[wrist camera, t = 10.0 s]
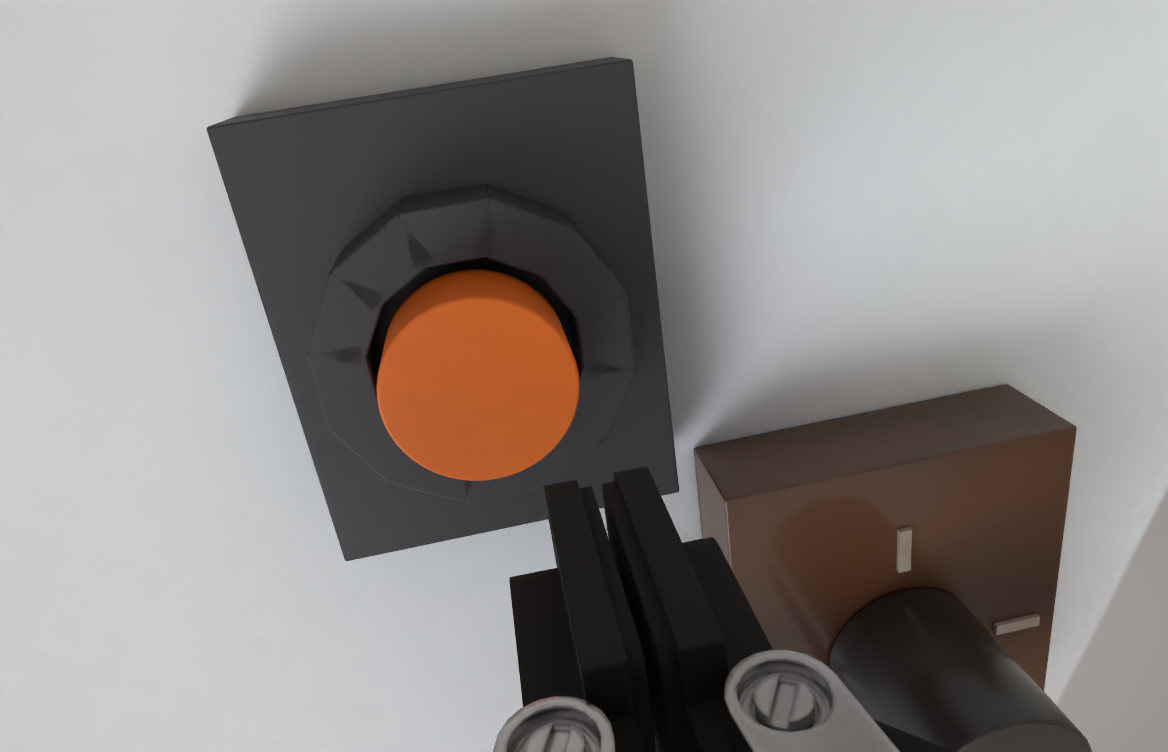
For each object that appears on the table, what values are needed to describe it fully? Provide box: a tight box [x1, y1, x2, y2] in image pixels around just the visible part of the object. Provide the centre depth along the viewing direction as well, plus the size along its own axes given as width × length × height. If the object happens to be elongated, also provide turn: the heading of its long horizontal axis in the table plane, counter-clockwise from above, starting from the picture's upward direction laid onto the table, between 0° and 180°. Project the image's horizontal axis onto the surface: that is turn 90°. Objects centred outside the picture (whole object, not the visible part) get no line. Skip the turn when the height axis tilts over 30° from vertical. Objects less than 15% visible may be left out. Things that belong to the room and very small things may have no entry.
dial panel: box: [694, 385, 1077, 691], centre depth 25 cm, size 13×10×3 cm
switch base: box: [207, 57, 679, 561], centre depth 19 cm, size 11×9×4 cm
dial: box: [829, 588, 1092, 752], centre depth 22 cm, size 5×5×5 cm
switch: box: [377, 269, 580, 481], centre depth 17 cm, size 4×4×2 cm
